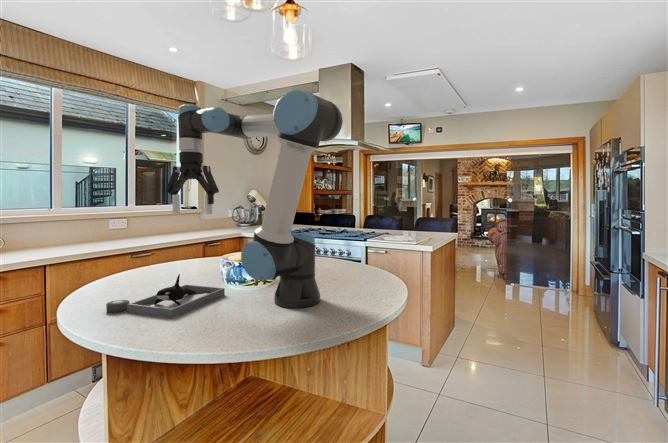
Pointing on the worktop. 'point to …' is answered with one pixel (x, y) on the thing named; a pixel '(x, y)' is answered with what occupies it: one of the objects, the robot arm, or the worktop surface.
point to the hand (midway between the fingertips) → (192, 213)
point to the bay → (170, 307)
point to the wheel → (117, 306)
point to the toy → (173, 293)
